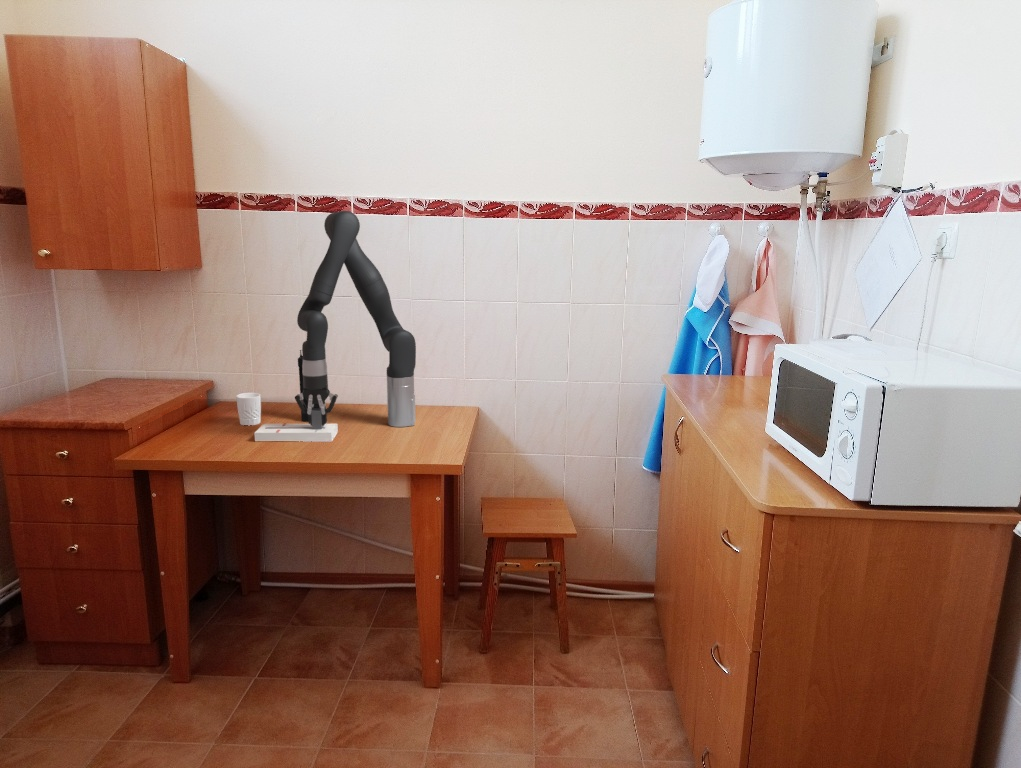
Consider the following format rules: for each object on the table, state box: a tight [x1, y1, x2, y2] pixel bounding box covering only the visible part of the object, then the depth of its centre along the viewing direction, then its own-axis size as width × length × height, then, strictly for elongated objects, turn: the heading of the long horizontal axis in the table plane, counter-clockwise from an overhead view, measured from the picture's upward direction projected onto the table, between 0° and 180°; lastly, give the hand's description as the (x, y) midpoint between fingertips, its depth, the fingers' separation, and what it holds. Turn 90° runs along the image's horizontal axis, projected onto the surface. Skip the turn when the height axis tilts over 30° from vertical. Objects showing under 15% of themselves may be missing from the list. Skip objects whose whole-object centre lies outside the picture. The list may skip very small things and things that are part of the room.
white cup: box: [235, 392, 262, 427], centre depth 237 cm, size 8×8×10 cm
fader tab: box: [311, 408, 324, 429], centre depth 223 cm, size 3×4×6 cm
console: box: [254, 422, 339, 443], centre depth 223 cm, size 24×10×3 cm, turn 93°
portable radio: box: [297, 349, 320, 423], centre depth 240 cm, size 8×6×25 cm
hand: (317, 424), depth 223 cm, fingers closed on fader tab, 3 cm apart
